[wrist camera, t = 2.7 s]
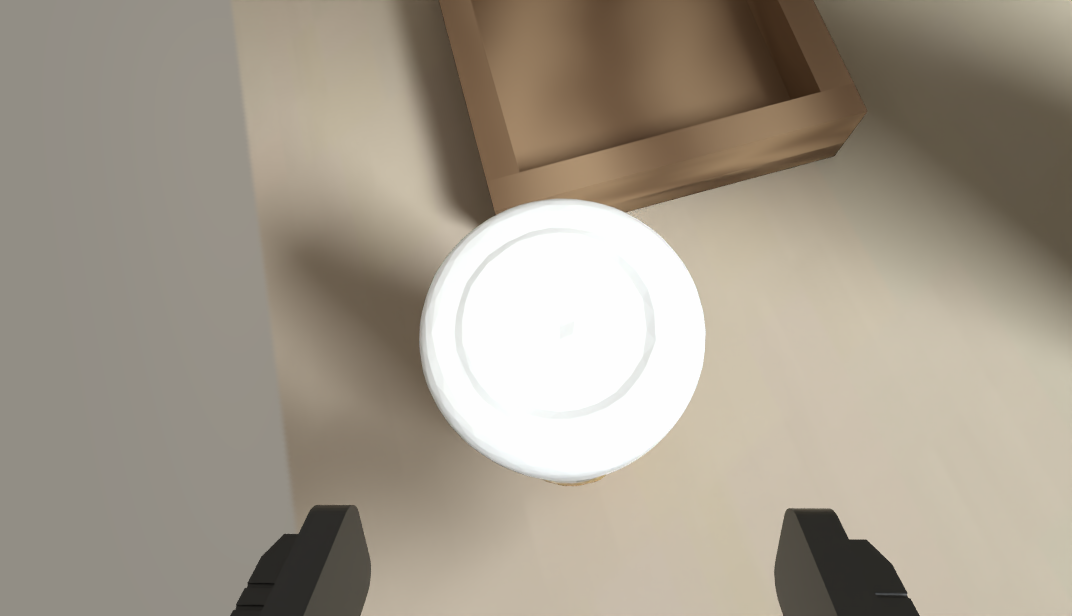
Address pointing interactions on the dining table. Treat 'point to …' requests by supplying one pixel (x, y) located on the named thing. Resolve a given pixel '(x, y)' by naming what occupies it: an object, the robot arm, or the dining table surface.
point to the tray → (646, 95)
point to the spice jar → (562, 339)
